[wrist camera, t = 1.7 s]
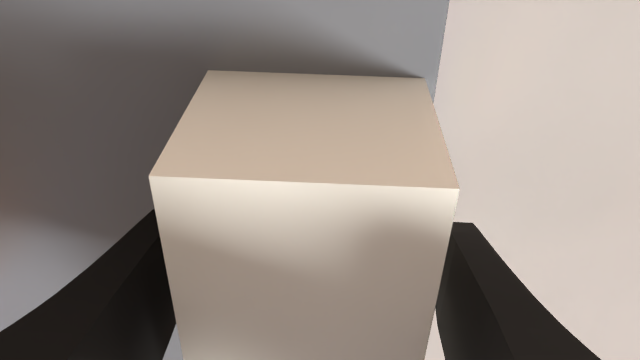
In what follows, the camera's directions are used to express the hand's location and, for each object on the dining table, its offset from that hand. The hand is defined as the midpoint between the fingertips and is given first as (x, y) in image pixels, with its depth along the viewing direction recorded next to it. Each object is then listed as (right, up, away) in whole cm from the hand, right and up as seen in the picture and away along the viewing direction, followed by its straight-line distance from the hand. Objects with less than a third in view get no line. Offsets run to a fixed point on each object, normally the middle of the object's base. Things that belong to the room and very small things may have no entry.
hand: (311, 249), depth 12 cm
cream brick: (0, +1, +1) cm, 1 cm away
